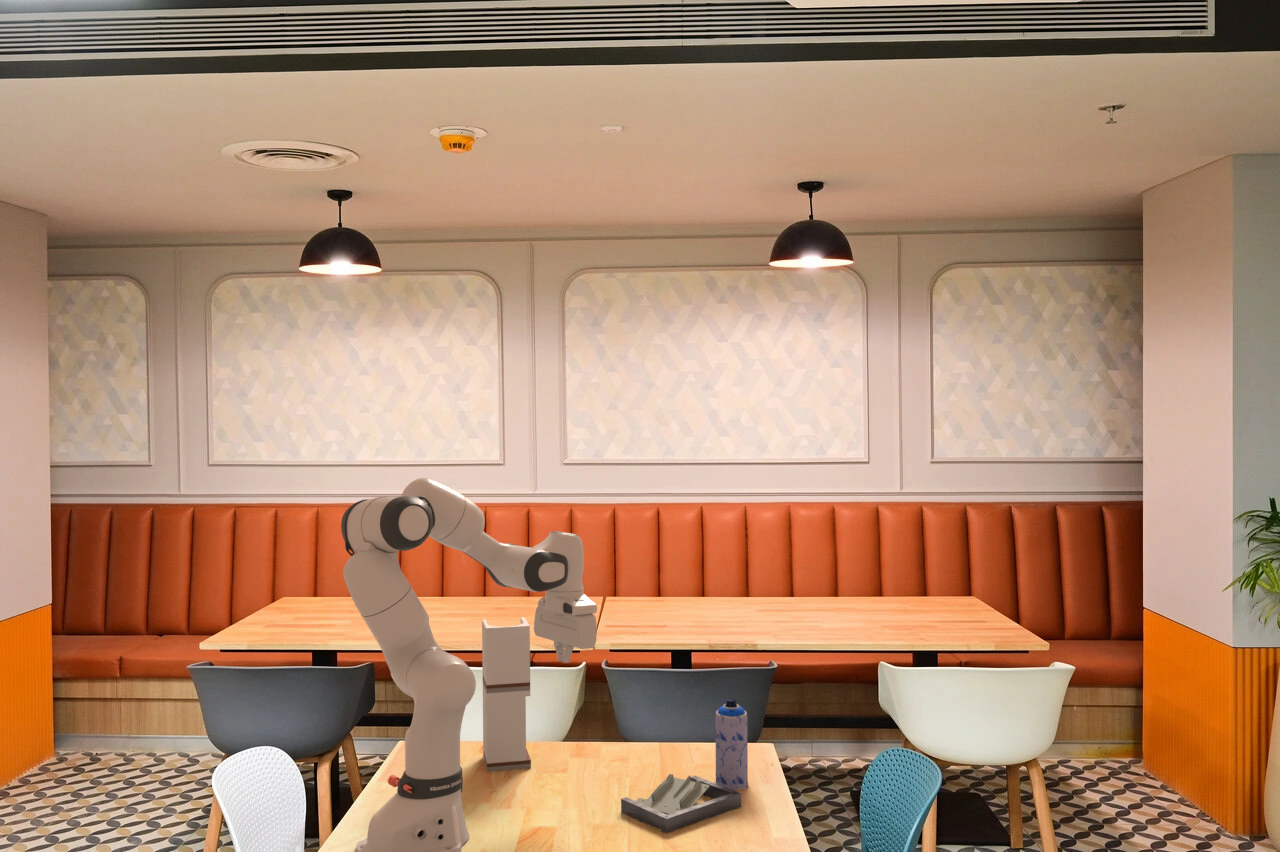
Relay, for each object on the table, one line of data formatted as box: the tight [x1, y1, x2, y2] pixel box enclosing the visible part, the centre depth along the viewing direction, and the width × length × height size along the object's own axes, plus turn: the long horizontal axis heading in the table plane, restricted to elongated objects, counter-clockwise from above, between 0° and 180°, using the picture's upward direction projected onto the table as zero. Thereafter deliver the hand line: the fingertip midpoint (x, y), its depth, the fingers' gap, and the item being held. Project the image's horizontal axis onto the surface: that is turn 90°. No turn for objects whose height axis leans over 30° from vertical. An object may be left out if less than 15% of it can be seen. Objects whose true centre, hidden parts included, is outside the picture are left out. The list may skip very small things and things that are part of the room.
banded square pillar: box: [481, 616, 532, 773], centre depth 261 cm, size 11×11×35 cm
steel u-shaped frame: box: [620, 775, 743, 834], centre depth 229 cm, size 22×15×3 cm
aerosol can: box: [714, 698, 750, 791], centre depth 244 cm, size 8×8×20 cm
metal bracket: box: [635, 773, 709, 815], centre depth 232 cm, size 14×6×15 cm
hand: (563, 661), depth 241 cm, fingers closed
